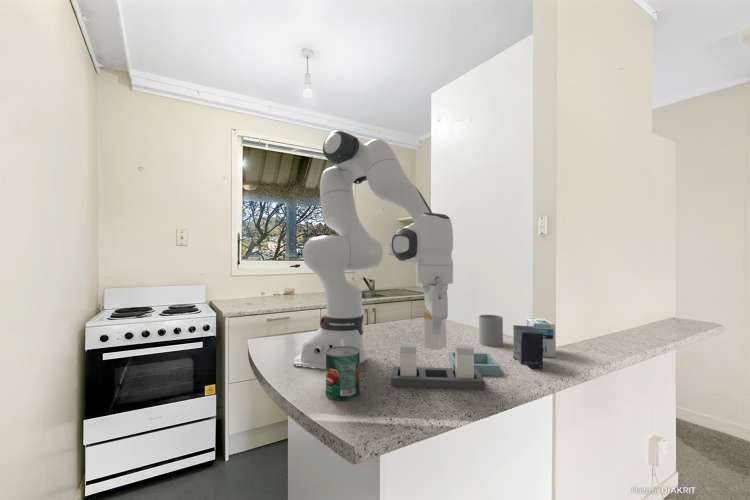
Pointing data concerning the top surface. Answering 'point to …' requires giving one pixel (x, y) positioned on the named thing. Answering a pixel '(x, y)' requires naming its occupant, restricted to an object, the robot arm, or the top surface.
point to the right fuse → (464, 361)
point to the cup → (491, 330)
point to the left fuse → (408, 359)
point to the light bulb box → (545, 335)
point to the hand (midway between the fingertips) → (435, 330)
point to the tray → (483, 369)
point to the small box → (528, 346)
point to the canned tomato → (342, 373)
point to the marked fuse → (434, 339)
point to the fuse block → (437, 379)
